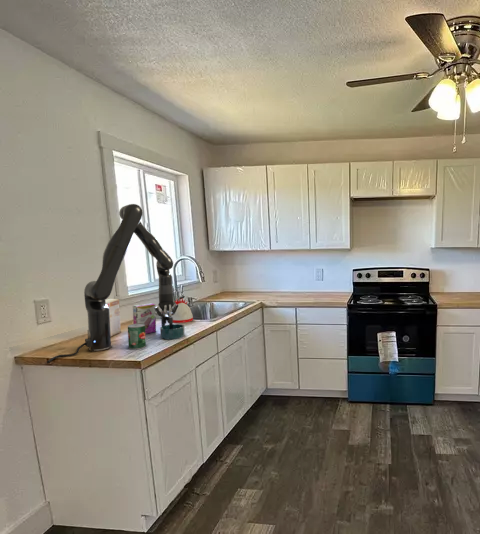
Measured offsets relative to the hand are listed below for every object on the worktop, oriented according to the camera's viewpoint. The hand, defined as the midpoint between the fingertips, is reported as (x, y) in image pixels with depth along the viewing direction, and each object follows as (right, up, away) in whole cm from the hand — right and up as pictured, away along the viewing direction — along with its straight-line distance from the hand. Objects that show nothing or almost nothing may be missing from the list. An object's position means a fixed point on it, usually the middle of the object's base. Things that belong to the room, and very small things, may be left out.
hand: (167, 322), depth 195 cm
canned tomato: (-6, -8, -23) cm, 25 cm away
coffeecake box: (-33, -7, -2) cm, 33 cm away
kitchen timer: (-3, -4, +34) cm, 34 cm away
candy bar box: (-13, -6, +2) cm, 15 cm away
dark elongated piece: (+1, -5, -1) cm, 5 cm away
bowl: (+5, -7, -5) cm, 10 cm away
